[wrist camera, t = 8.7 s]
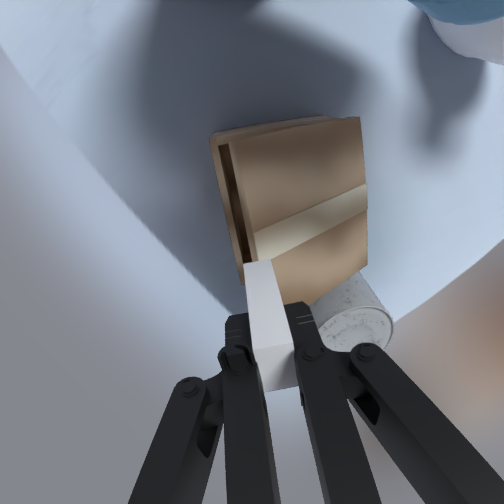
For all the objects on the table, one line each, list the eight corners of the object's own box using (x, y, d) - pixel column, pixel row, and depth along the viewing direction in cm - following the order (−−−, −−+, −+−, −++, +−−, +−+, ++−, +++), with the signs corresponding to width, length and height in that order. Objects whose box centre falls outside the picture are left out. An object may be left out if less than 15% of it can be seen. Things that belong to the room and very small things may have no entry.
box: (213, 132, 31) (209, 140, 24) (322, 115, 31) (349, 119, 24) (238, 248, 37) (241, 284, 30) (334, 230, 37) (358, 261, 30)
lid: (228, 142, 18) (235, 141, 17) (352, 116, 23) (360, 116, 23) (265, 324, 25) (272, 329, 24) (361, 262, 30) (368, 264, 29)
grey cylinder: (299, 318, 43) (320, 384, 32) (277, 265, 39) (296, 329, 28) (361, 293, 42) (397, 352, 31) (347, 237, 38) (390, 291, 27)
